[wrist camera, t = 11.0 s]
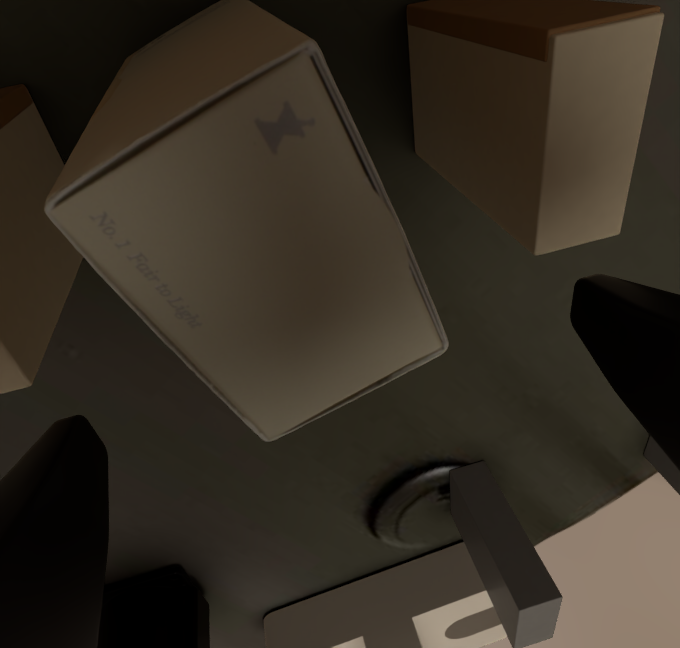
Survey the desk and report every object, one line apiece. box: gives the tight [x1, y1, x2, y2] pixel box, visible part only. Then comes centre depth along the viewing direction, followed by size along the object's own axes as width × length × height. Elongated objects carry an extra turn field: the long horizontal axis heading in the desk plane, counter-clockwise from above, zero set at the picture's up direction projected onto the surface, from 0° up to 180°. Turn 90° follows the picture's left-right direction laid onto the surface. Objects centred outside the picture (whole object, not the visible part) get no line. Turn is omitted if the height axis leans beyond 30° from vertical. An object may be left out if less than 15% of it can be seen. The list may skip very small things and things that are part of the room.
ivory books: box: [0, 0, 664, 394], centre depth 14 cm, size 18×5×9 cm, turn 99°
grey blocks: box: [450, 435, 680, 648], centre depth 31 cm, size 17×5×9 cm, turn 99°
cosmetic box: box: [44, 0, 449, 442], centre depth 13 cm, size 6×4×12 cm
